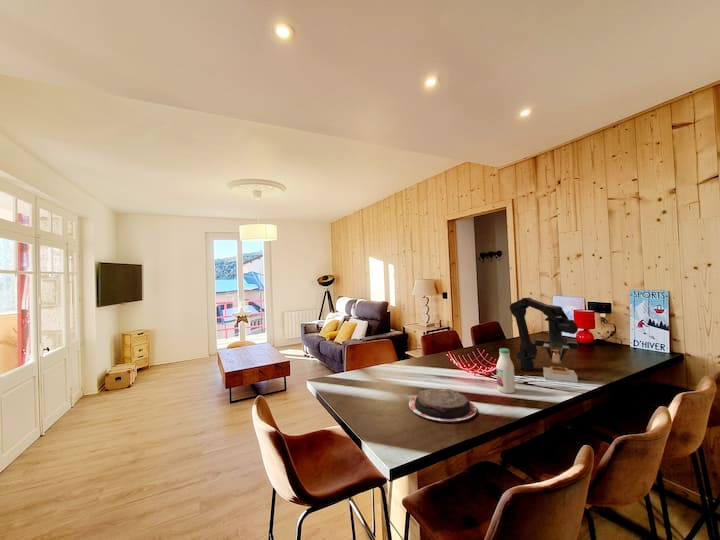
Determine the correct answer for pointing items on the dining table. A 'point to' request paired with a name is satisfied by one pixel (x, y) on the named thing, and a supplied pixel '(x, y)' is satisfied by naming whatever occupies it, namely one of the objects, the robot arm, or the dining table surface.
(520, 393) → the dining table surface
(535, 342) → the robot arm
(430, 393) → the chocolate cake
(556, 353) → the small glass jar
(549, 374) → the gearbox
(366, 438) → the dining table surface
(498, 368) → the milk bottle
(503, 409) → the dining table surface
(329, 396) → the dining table surface
